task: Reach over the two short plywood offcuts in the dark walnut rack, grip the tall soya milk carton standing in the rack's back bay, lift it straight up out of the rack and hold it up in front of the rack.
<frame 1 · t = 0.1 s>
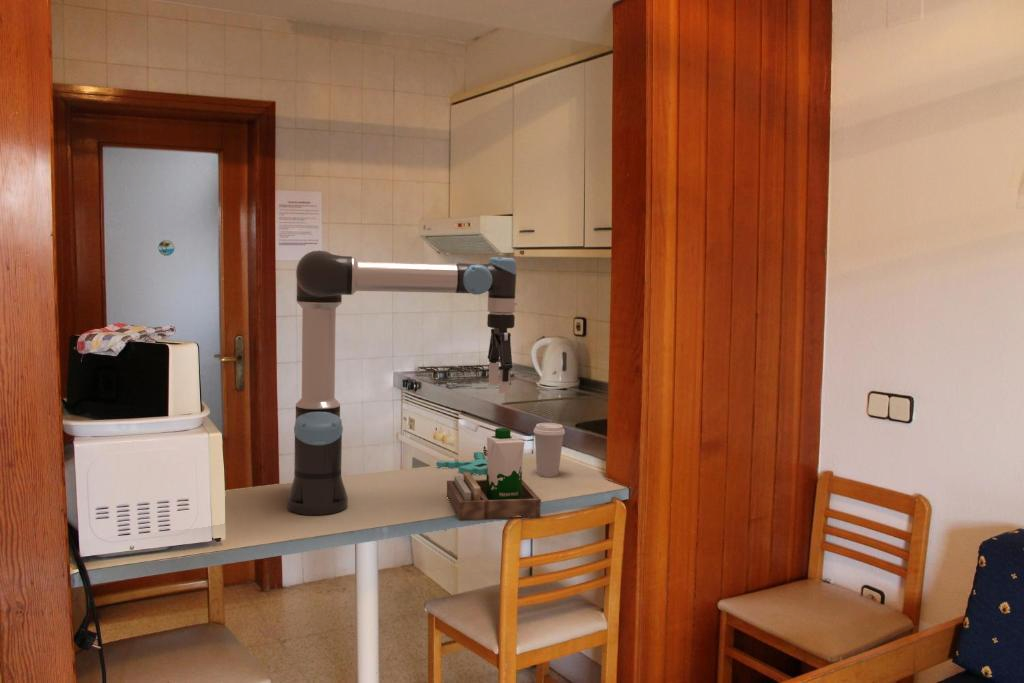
hand: (498, 389, 244), 28 cm above the table, fingers open, 13 cm apart
alien figure: (482, 469, 269), on the table
birch offcut: (471, 508, 227), resting in offcut rack
coffee cup: (547, 475, 263), on the table
soya milk: (503, 507, 229), resting in offcut rack
offcut rack: (491, 506, 228), on the table
grey offcut: (461, 508, 226), resting in offcut rack
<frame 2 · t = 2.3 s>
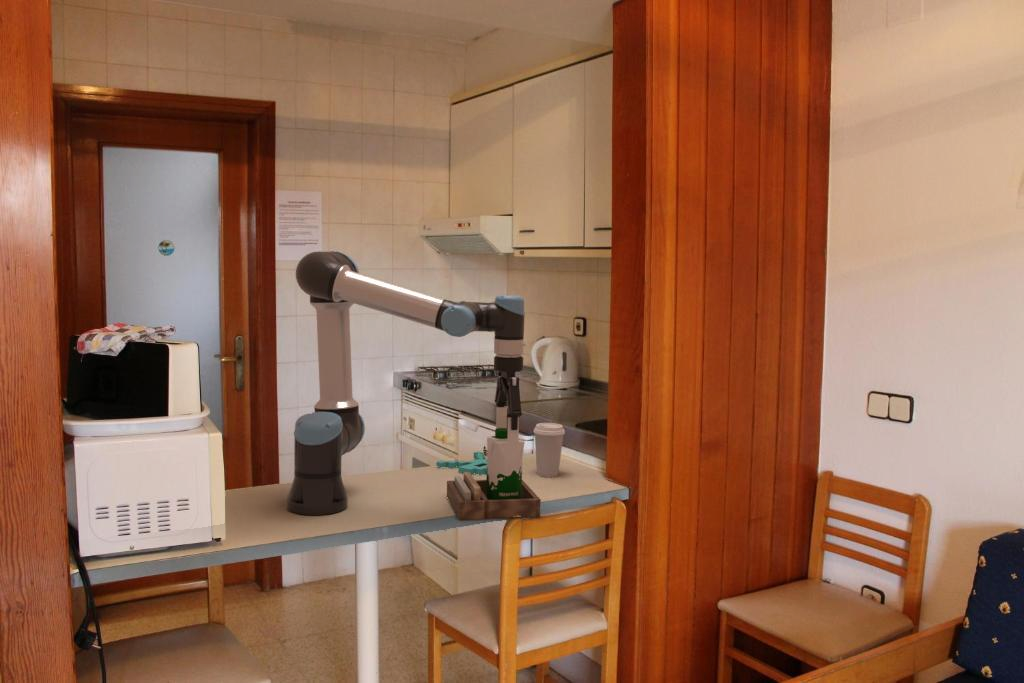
hand: (506, 436, 227), 19 cm above the table, fingers open, 13 cm apart
nothing on the table moved.
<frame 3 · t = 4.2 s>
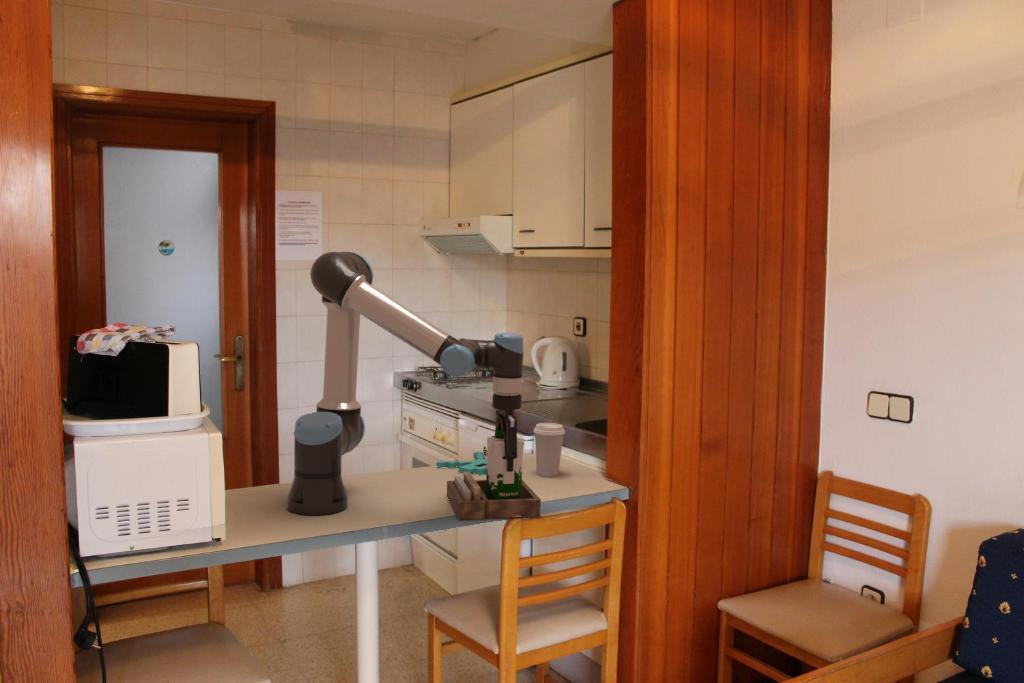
hand: (504, 478, 228), 7 cm above the table, fingers closed on soya milk, 9 cm apart
soya milk: (503, 507, 229), resting in offcut rack, touching gripper
everything else where it was.
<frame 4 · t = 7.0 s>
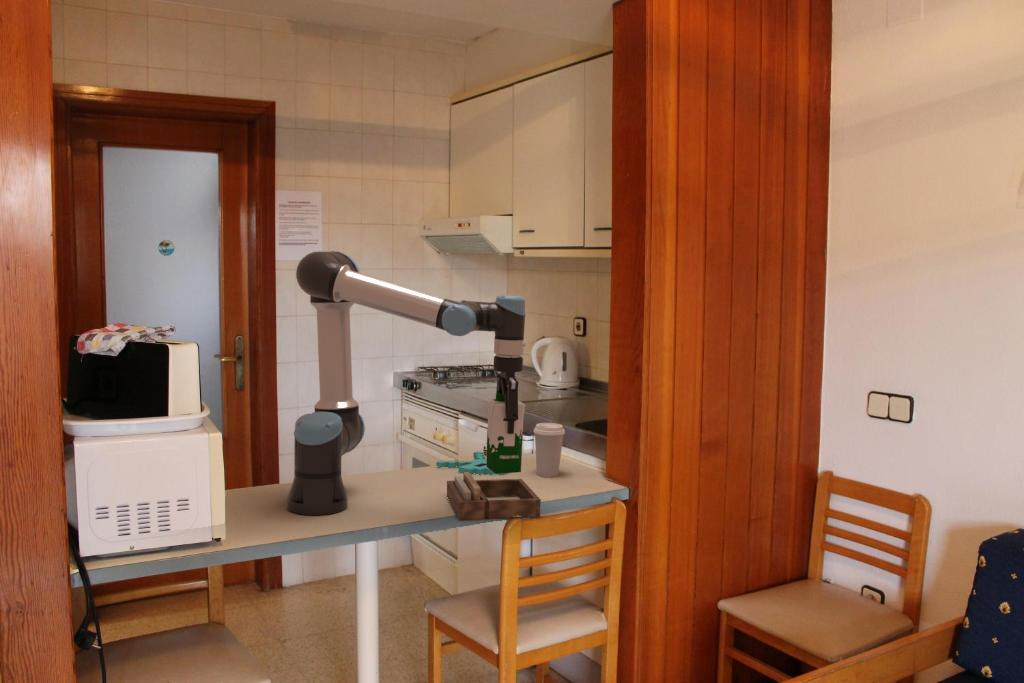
hand: (504, 441, 227), 17 cm above the table, fingers closed on soya milk, 9 cm apart
soya milk: (503, 470, 228), point 10 cm above the table, touching gripper
everything else where it was.
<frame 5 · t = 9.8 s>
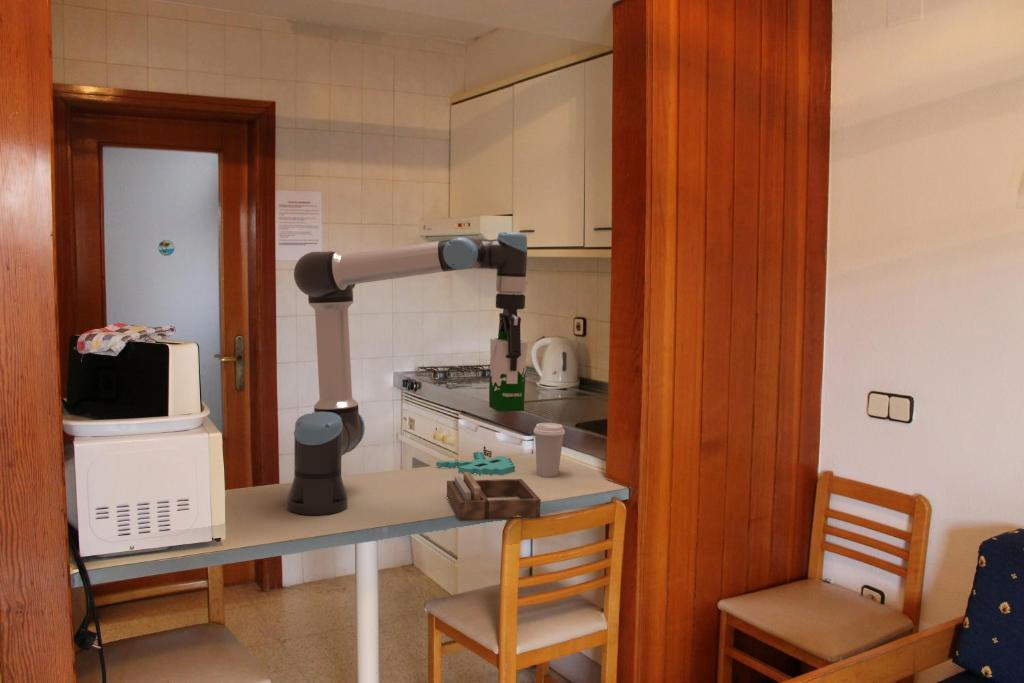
hand: (507, 380, 225), 33 cm above the table, fingers closed on soya milk, 9 cm apart
soya milk: (506, 409, 226), point 26 cm above the table, touching gripper
everything else where it was.
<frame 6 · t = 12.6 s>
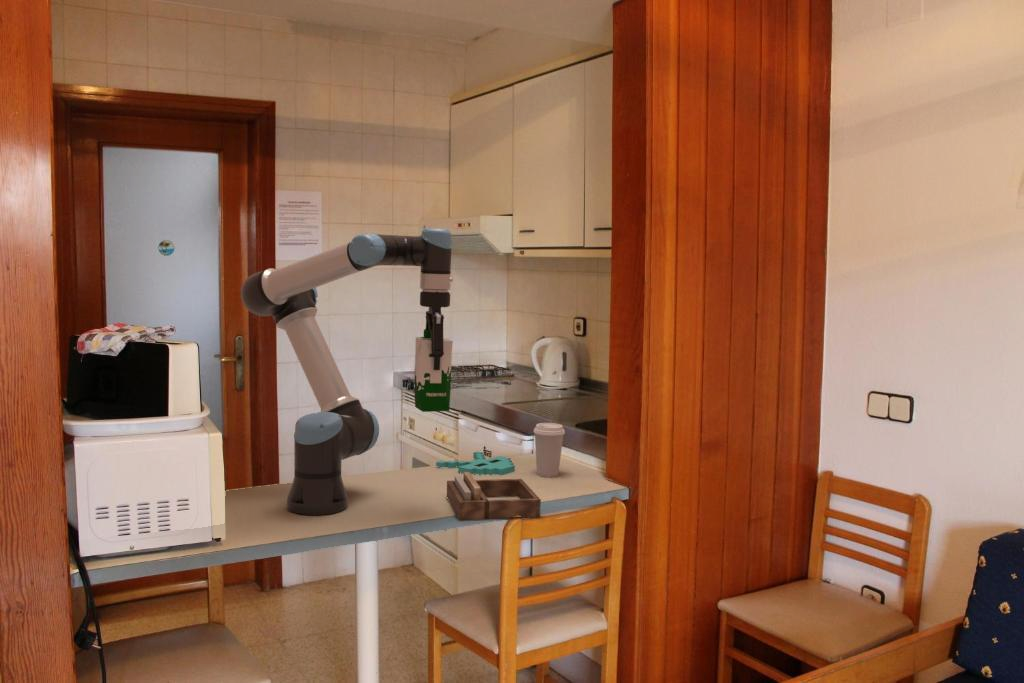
hand: (432, 379, 221), 33 cm above the table, fingers closed on soya milk, 9 cm apart
soya milk: (432, 409, 222), point 26 cm above the table, touching gripper
everything else where it was.
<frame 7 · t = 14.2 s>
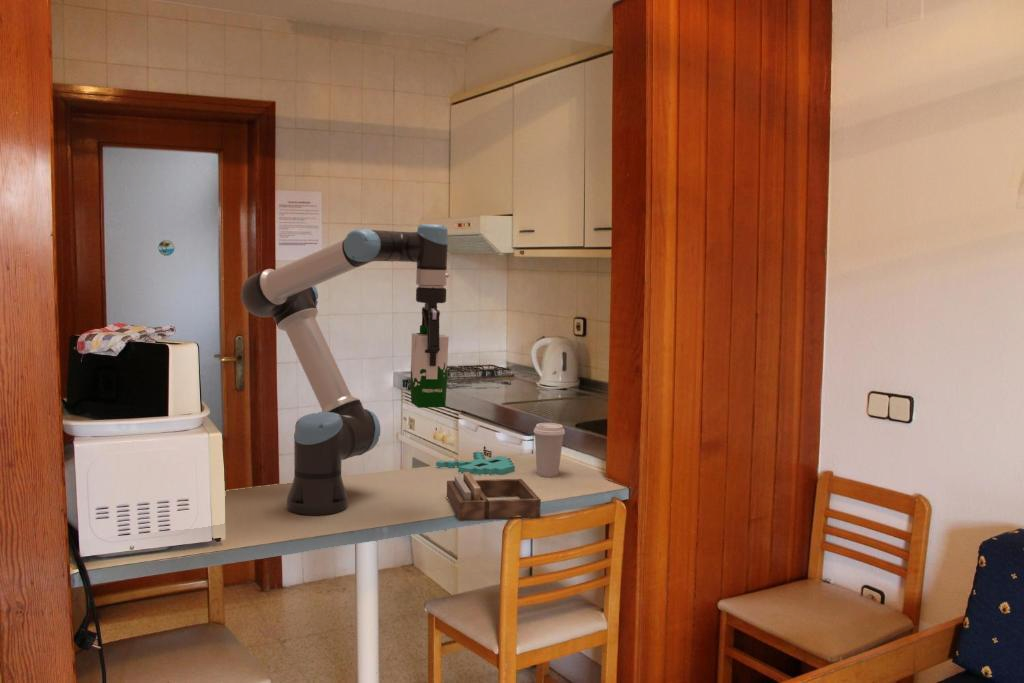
hand: (428, 376, 220), 34 cm above the table, fingers closed on soya milk, 9 cm apart
soya milk: (428, 406, 221), point 27 cm above the table, touching gripper
everything else where it was.
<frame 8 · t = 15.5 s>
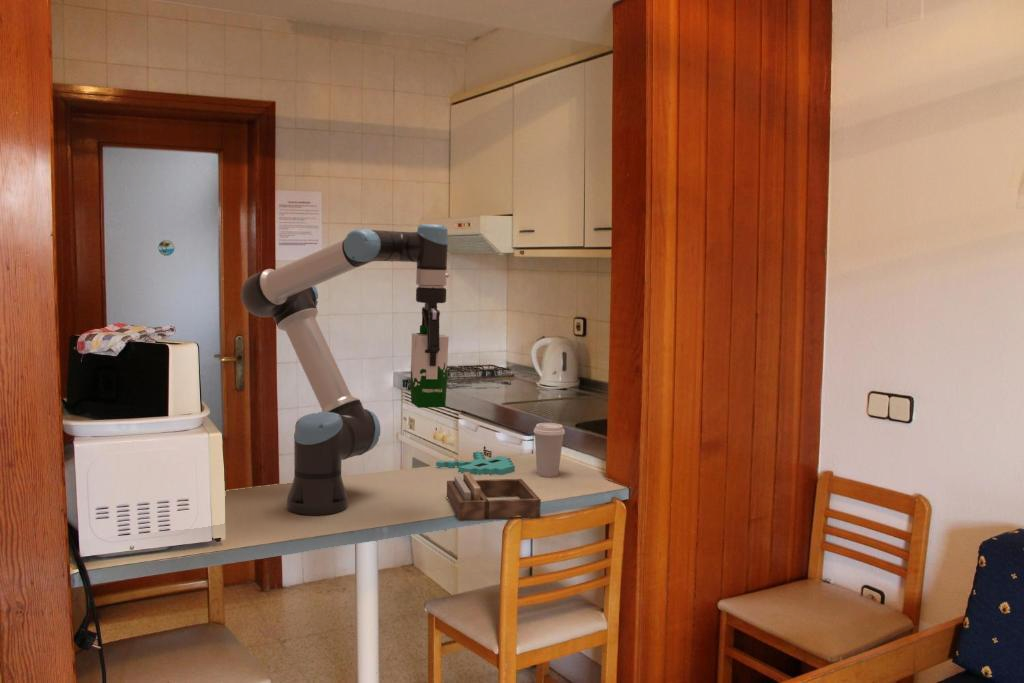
hand: (428, 376, 220), 34 cm above the table, fingers closed on soya milk, 9 cm apart
soya milk: (428, 406, 221), point 27 cm above the table, touching gripper
everything else where it was.
at the end: the gripper is holding soya milk; soya milk inside the target area (0.5 cm from its centre), point 26.7 cm above the table; soya milk touching gripper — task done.
